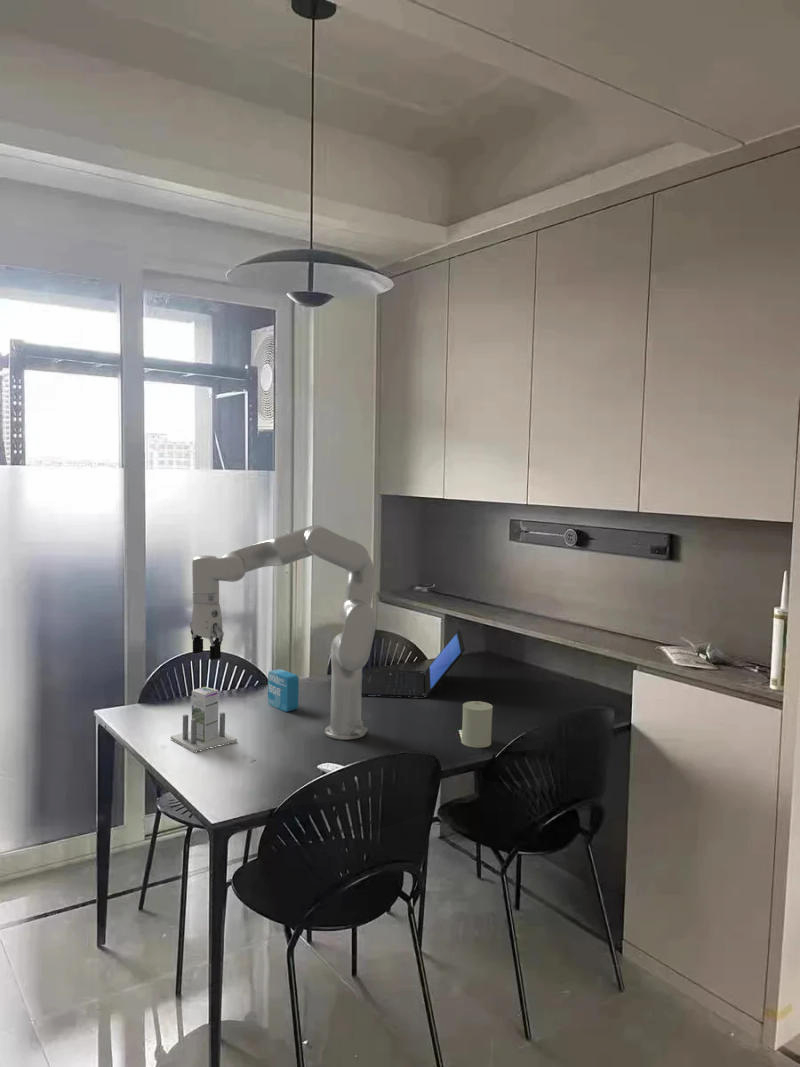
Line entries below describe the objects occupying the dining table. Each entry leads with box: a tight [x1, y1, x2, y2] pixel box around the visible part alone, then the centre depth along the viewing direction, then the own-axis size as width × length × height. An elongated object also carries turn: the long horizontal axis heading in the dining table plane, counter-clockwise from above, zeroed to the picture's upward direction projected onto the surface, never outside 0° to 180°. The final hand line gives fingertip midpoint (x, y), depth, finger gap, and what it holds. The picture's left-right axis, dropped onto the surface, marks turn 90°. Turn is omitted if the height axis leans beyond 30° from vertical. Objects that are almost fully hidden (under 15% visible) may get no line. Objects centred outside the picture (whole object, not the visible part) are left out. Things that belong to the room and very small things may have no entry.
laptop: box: [362, 629, 466, 698], centre depth 298 cm, size 33×38×19 cm
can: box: [460, 700, 494, 749], centre depth 239 cm, size 9×9×12 cm
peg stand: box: [170, 712, 238, 753], centre depth 233 cm, size 14×14×8 cm
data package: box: [267, 668, 300, 713], centre depth 267 cm, size 12×4×12 cm, turn 43°
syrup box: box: [191, 686, 219, 741], centre depth 233 cm, size 6×6×14 cm
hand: (206, 655), depth 231 cm, fingers open, 9 cm apart
